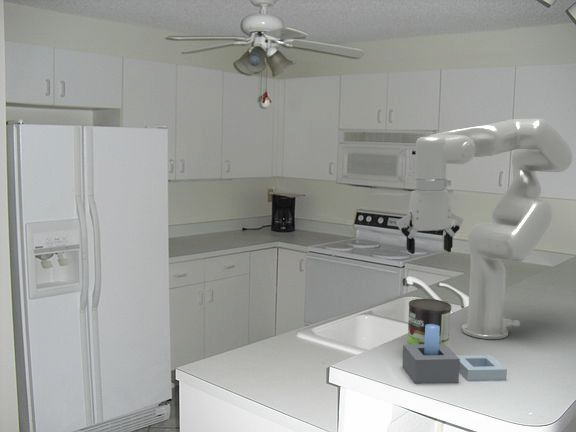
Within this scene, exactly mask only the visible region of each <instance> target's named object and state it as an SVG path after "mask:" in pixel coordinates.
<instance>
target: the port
mask: <svg viewBox="0 0 576 432" xmlns="http://www.w3.org/2000/svg"><path fill="white" fill-rule="evenodd" d="M402 347H403V348H402V368H403V370H404V371H405V373H406V374H407V375H408V377H409V378H410V379H411V381H412V382H413V383H414V384H415V385H421V384H422V385H424V384H428V385H429V384H460V383H459V382H460V372H459V366H460V359H459V358H458V357H457V356H458V355H457V354H455V352H453V351H452V350H451V349H450V348H448V347H447V346H446V345H445V344H439V350H438V355H424V344H407V343H405V344H403V345H402Z"/></svg>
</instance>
